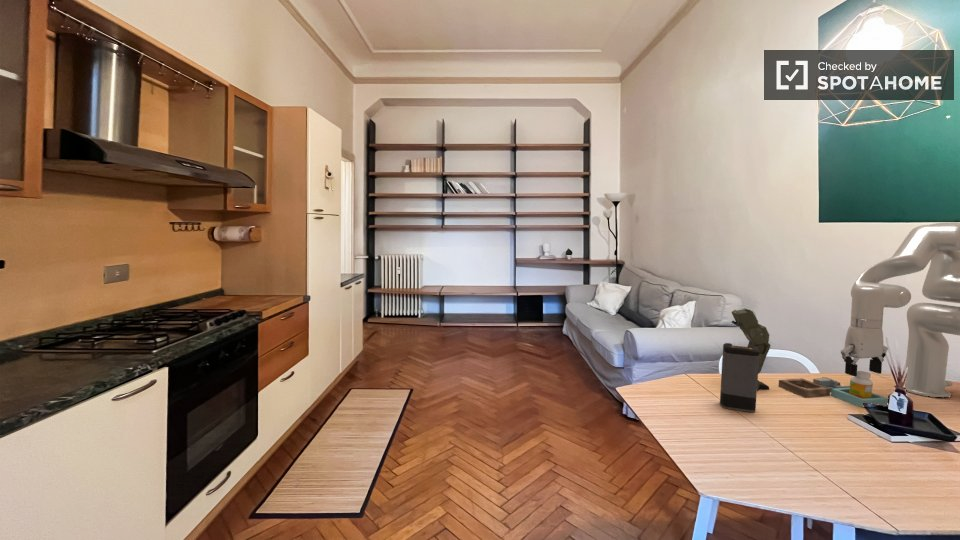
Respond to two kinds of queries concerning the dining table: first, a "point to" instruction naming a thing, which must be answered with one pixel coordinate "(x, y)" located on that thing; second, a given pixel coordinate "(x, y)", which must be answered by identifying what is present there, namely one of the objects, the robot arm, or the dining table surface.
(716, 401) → the dining table surface
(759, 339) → the mechanical leg
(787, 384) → the socket block
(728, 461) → the dining table surface
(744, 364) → the electronic device
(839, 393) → the green square tray
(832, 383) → the grey stepped block
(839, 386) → the guide
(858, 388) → the supplement bottle
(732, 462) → the dining table surface
